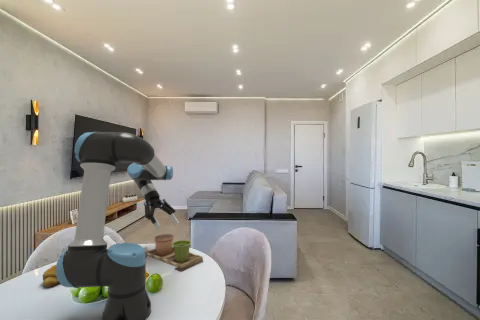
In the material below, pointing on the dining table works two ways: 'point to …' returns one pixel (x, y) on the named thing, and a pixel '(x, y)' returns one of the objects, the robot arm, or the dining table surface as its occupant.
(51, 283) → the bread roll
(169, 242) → the pot
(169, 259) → the pallet
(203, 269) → the dining table surface
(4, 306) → the dining table surface
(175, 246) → the plant pot
